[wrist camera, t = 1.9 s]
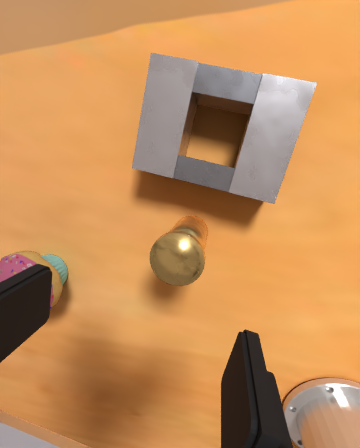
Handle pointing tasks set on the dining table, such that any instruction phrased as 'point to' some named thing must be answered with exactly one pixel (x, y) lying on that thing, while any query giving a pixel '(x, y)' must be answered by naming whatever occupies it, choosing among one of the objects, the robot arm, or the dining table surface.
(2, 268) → the cupcake
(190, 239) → the brass capped cylinder
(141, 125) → the jig
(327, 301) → the dining table surface
